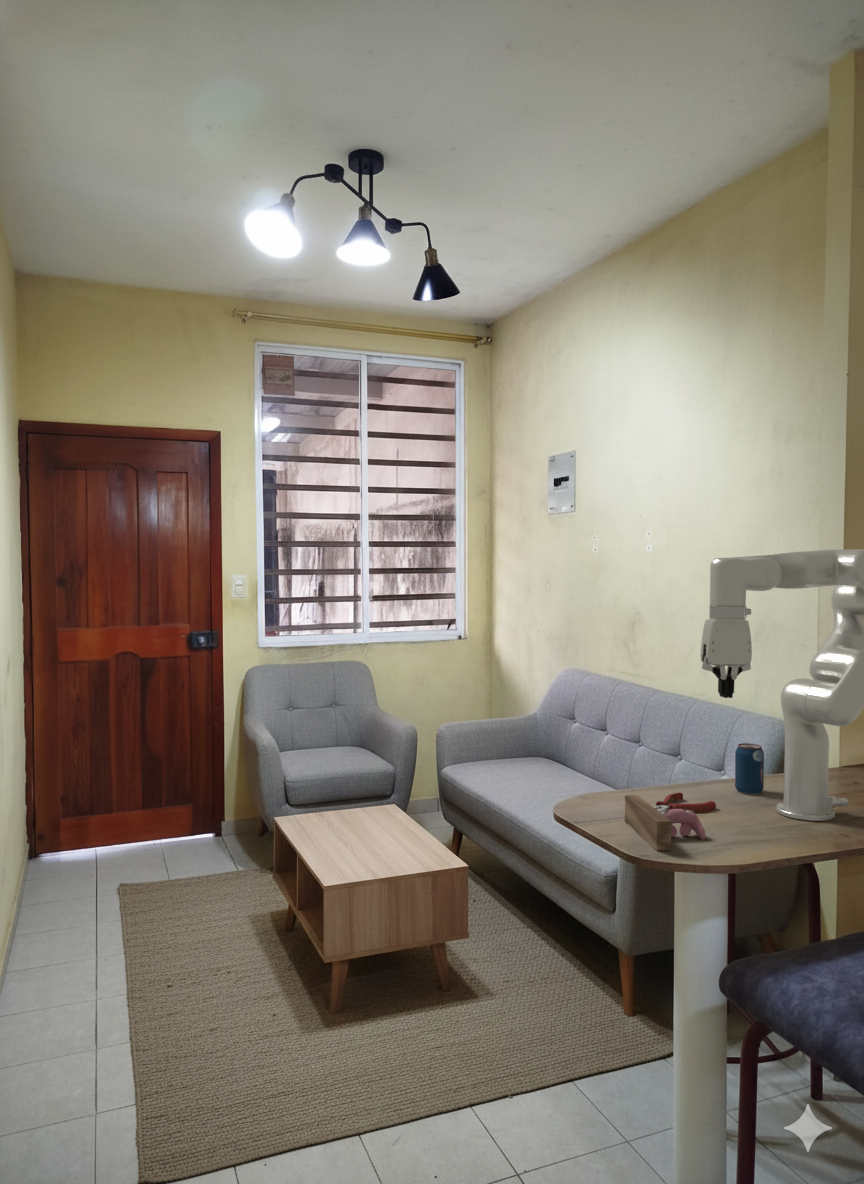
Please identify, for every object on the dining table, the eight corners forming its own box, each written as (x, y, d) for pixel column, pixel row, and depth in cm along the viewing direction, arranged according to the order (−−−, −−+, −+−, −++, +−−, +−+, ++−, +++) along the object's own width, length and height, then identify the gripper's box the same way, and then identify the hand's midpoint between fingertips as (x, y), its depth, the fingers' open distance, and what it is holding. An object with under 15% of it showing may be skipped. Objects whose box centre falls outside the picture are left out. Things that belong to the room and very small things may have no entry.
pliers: (624, 814, 201) (625, 803, 201) (678, 800, 213) (678, 790, 213) (664, 826, 192) (664, 814, 192) (718, 811, 204) (718, 801, 204)
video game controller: (698, 842, 184) (692, 809, 187) (708, 838, 180) (701, 805, 183) (656, 845, 182) (649, 811, 185) (665, 841, 178) (658, 807, 181)
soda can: (768, 795, 217) (769, 748, 216) (741, 795, 216) (742, 748, 216) (756, 788, 224) (756, 742, 223) (730, 788, 223) (731, 742, 223)
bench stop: (637, 821, 193) (638, 795, 193) (670, 850, 173) (671, 821, 173) (624, 821, 193) (625, 795, 193) (656, 851, 173) (657, 821, 173)
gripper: (751, 613, 192) (750, 694, 193) (687, 612, 191) (686, 694, 191) (768, 614, 185) (766, 699, 185) (701, 614, 183) (700, 700, 184)
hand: (725, 696), depth 188 cm, fingers closed
